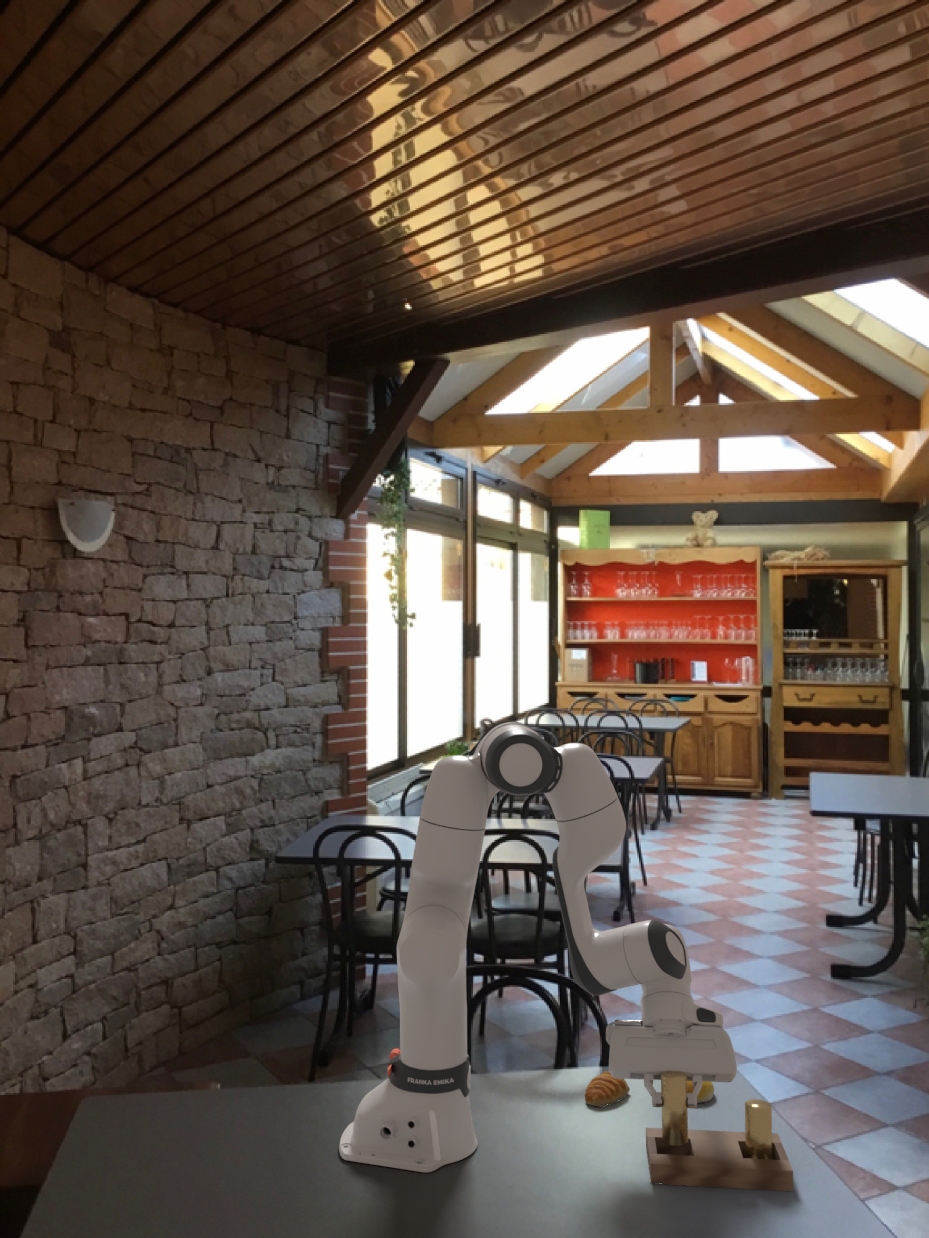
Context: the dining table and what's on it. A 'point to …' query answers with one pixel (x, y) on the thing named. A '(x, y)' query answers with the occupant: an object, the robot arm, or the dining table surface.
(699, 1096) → the bread roll
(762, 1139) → the seated billet
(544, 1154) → the dining table surface
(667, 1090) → the loose billet
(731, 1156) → the wooden socket block
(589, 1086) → the pastry
